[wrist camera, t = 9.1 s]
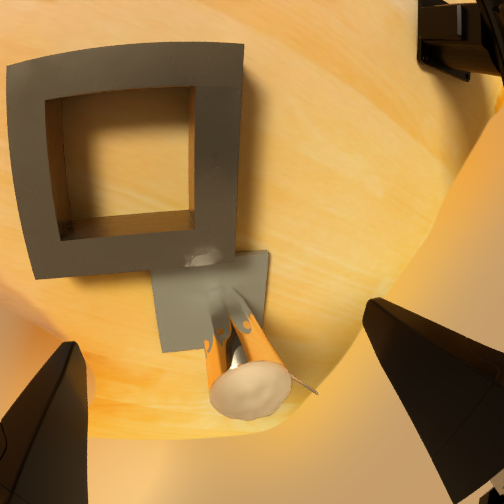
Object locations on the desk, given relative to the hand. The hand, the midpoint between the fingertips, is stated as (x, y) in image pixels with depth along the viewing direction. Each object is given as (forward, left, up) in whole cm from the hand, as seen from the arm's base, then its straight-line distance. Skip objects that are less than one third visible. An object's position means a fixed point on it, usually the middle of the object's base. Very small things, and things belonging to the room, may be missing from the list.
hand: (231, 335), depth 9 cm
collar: (+4, -3, -12) cm, 13 cm away
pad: (-1, +8, -12) cm, 15 cm away
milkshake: (-2, +8, -12) cm, 14 cm away
